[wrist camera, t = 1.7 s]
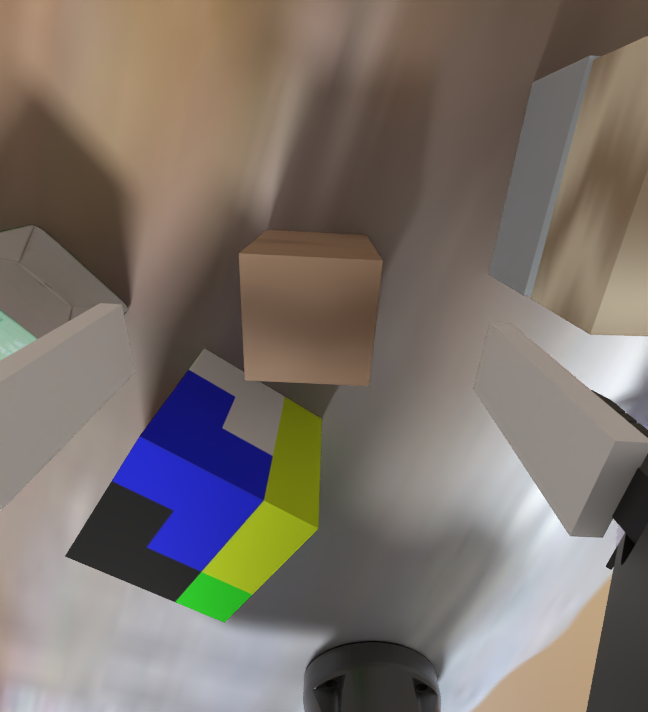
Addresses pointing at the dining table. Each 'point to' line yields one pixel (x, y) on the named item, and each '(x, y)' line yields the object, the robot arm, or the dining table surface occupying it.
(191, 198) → the dining table surface
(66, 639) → the dining table surface
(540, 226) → the tower slab lower
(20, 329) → the box
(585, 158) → the tower slab upper
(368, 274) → the walnut block
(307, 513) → the puzzle toy
